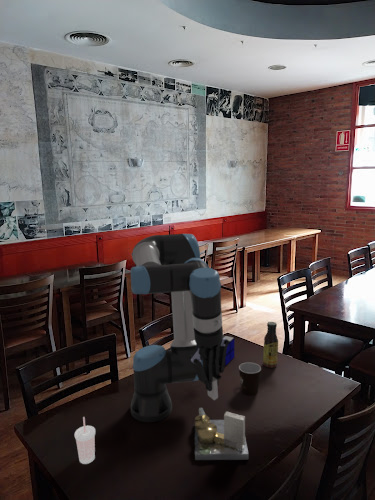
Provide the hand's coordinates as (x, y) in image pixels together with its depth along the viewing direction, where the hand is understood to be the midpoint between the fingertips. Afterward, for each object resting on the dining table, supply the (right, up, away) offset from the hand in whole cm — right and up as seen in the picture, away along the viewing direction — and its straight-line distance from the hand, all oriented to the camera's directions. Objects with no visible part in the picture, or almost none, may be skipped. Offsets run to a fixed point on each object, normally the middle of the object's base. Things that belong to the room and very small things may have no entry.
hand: (212, 396), depth 105 cm
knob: (+3, -18, +11) cm, 21 cm away
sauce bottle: (+30, -10, +62) cm, 69 cm away
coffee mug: (+18, -14, +43) cm, 49 cm away
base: (+3, -20, +14) cm, 25 cm away
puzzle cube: (+8, -10, +68) cm, 69 cm away
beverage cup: (-38, -22, +8) cm, 45 cm away
